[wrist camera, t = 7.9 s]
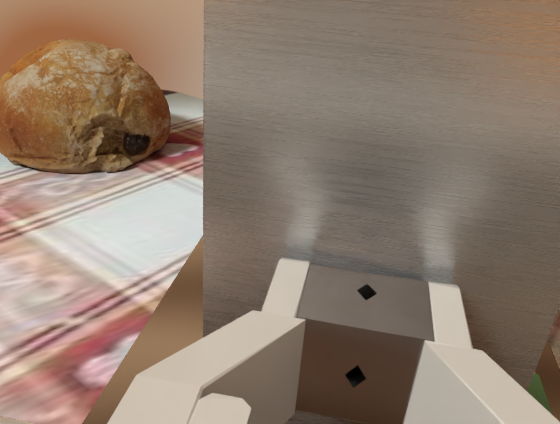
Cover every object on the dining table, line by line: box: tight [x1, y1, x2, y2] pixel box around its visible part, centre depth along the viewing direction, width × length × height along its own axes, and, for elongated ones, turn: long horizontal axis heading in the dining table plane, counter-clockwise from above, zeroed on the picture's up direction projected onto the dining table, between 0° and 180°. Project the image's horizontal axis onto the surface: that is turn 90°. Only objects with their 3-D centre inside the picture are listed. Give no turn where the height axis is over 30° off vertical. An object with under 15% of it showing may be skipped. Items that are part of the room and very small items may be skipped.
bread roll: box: [0, 39, 171, 174], centre depth 31 cm, size 10×10×8 cm
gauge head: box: [203, 0, 560, 424], centre depth 12 cm, size 7×9×10 cm
